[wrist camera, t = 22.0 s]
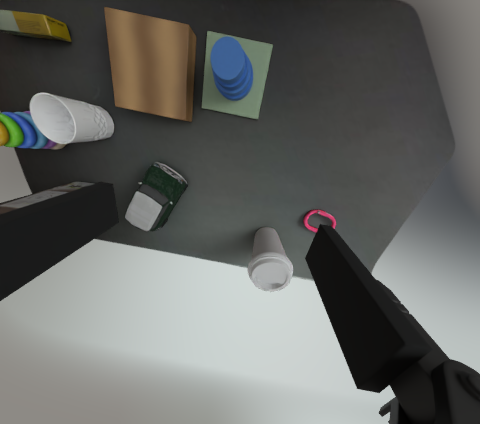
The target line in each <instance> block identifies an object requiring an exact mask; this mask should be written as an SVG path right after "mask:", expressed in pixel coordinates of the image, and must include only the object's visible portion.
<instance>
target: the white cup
mask: <svg viewBox="0 0 480 424" xmlns="http://www.w3.org/2000/svg"><path fill="white" fill-rule="evenodd" d="M30 113H31V117H32V119H33V121H34V123H35V125H36V126H37V128H38V129H39V130H40V132H41V133H42V134H43V135H44V136H46V137H47V138H48V139H50V140H51V141H53V142H56V143H59V144H69V143H78V142H88V141H95V140H100V139H106V138H109V137H111V136H112V134H113V133H114V123H113V120H112V118H111V116H110V115H109V113H108V112H107V111H106V110H104V109H103V108H102V107H100V106H95V105H91V104H88V103H86V102H82V101H78V100H74V99H70V98H65V97H61V96H57V95H53V94H49V93H38V94H36V95H34V96H33V97H32V99H31V101H30Z"/></svg>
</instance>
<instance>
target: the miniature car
mask: <svg viewBox="0 0 480 424" xmlns="http://www.w3.org/2000/svg"><path fill="white" fill-rule="evenodd" d="M163 166H165V167H167V168H168V169H170V170H171V171H173V172H174V173H175V174H177V175H178V176H179V177H178V176H177V175H175V174H174V173H172V172H171V171H169V170H168V169H166V168H165V167H163ZM186 183H187V182H186V180H185V179H184V178H183V177H182V176H181V175H179V174H178V173H177V172H175V171H174V170H173V169H171V168H169V167H168V166H166V165H165V164H161V163H159V162H155V163H154V164H153V165H151V166H150V167H149V169H148V170H147V171H146V174H145V177H144V178H143V181H142V183H139V184H141V185H140V187H139V188H138V189H137V191H136V192H135V194H134V195H133V197H132V199H131V201H130V204H129V206H128V208H127V211H126V214H125V219H126V220H127V221H128V222H130V223H131V224H132V225H134V226H135V227H137V228H139V229H141V230H144V231H147V232H149V231H155V230H156V231H157V229H158V230H159V229H160V227H163V225H164V224H165V223H166V222H167V220H168V219H167V218H168V216H169V215H170V213H171V211H172V210H173V208H174V206H175V205H176V203H177V202H178V200H179V198H180V197H181V195H182V194H183V192H184V191H185V190H186V188H187V187H188V185H187V184H186Z"/></svg>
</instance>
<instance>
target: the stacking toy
mask: <svg viewBox="0 0 480 424" xmlns="http://www.w3.org/2000/svg"><path fill="white" fill-rule="evenodd" d="M3 145H4V146H6V147H19V148H33V149H39V148H43V149H49V148H50V149H61V148H63V147H64V146H65V145H66V144H59V143H56V142H53V141H51V140H50V139H48V138H47V137H46V136H44V135H43V134H42V133H41V132H40V130H39V129H38V128H37V126H36V125H35V123H34V121H33V119H32V117H31V113H30V111H25V112H15V113H11V112H3V113H0V146H3Z"/></svg>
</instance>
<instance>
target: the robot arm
mask: <svg viewBox="0 0 480 424" xmlns="http://www.w3.org/2000/svg"><path fill="white" fill-rule="evenodd" d="M117 223H119V220H118V214H117V207H116V201H115V194H114V188H113V184H109V183H104V182H99V183H96V184H93V185H90V186H86V187H83V188H80V189H77V190H74V191H71V192H68V193H65V194H62V195H59V196H55V197H52V198H49V199H46V200H43V201H40V202H37V203H34V204H31V205H28V206H24V207H21V208H18V209H15V210H12V211H9V212H6V213H3V214H0V301H1V300H2V299H4V298H6V297H7V296H9V295H10V294H11V293H13V292H14V291H16V290H18V289H19V288H21V287H22V286H24V285H25V284H27V283H28V282H30V281H31V280H33V279H34V278H35V277H37V276H39V275H40V274H42V273H43V272H45V271H46V270H48V269H49V268H51V267H52V266H54V265H55V264H57V263H58V262H60V261H61V260H63V259H64V258H66V257H67V256H69V255H70V254H72V253H73V252H75V251H76V250H78V249H79V248H81V247H82V246H84V245H86V244H87V243H89V242H90V241H91V240H93V239H95V238H96V237H98V236H99V235H101V234H102V233H104V232H105V231H107V230H108V229H110V228H111V227H113V226H114V225H116V224H117ZM305 259H306V261H307V264H308V266H309V269H310V271H311V274H312V276H313V279H314V281H315V284H316V286H317V289H318V291H319V294H320V297H321V299H322V302H323V304H324V306H325V309H326V312H327V314H328V317H329V319H330V322H331V324H332V327H333V329H334V332H335V334H336V337H337V339H338V342H339V344H340V347H341V349H342V352H343V354H344V357H345V359H346V362H347V364H348V366H349V369H350V372H351V374H352V377H353V379H354V382H355V384H356V386H357V389H361V390H366V391H372V392H377V393H380V392H381V391H382V390H384V389H385V388H386V387H387V386H388V385H390V386H391V388H392V390H393V392H394V394H395V396H396V397H395V398H393V399H392V400H391V401H389V402H388V403H387V404H385V405H384V406H383V407H381V409H380V411H379V414H380V415H381V416H384V415H386V414H387V413H388V412H390V420H389V421H388V422H389V424H480V374H479V373H478V372H476V371H475V370H474V369H472V368H470V367H468V366H466V365H465V364H463V363H461V362H458V361H455V360H450V359H449V358H448V357H447V356H446V354H445V353H444V352H443V351H442V350H441V348H440V347H439V346H438V345H437V344H436V343H435V341H434V340H433V339H432V338H431V337H430V336H429V335H428V333H427V332H426V331H425V330H424V329H423V328H422V326H421V325H420V324H419V323H418V322H417V321H416V319H415V318H414V317H413V316H412V315H411V314H409V311H408V310H407V309H406V308H405V307H404V305H403V304H401V303H400V301H399V300H398V298H397V297H396V296H395V295H394V294H393V292H392V291H391V290H390V289H388V288H387V287H386V286H385V285H383V284H382V283H381V282H380V281H378V280H376V279H375V278H374V277H373V276H372V275H371V273H370V272H369V271H368V270H367V268H366V267H365V266H364V265H363V264H362V262H361V261H360V260H359V259H358V257H357V256H356V255H355V254H354V253H353V251H352V250H351V249H350V248H349V246H348V245H347V244H346V243H345V242H344V240H343V239H342V238H341V237H340V235H339V234H338V233H337V232H336V231H335V229H334V228H333V227H332V226H327V225H322V224H320V226H319V228H318V230H317V233H316V235H315V237H314V239H313V242H312V244H311V246H310V249H309V251H308V253H307V255H306V258H305Z"/></svg>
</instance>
